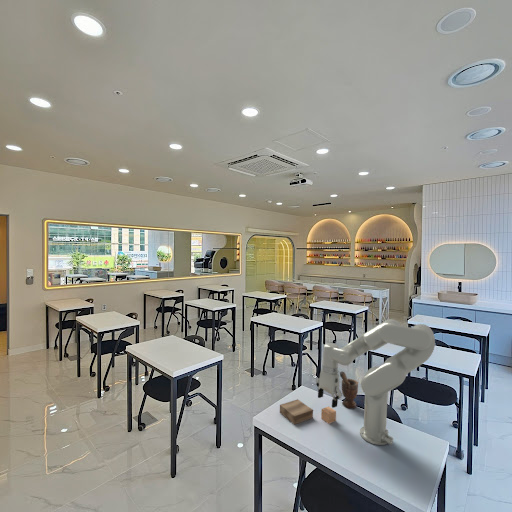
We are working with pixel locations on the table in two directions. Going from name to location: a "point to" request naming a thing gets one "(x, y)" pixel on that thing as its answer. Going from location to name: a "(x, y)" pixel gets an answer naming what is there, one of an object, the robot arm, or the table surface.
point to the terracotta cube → (328, 415)
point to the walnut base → (296, 411)
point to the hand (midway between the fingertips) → (327, 401)
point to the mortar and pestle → (349, 391)
